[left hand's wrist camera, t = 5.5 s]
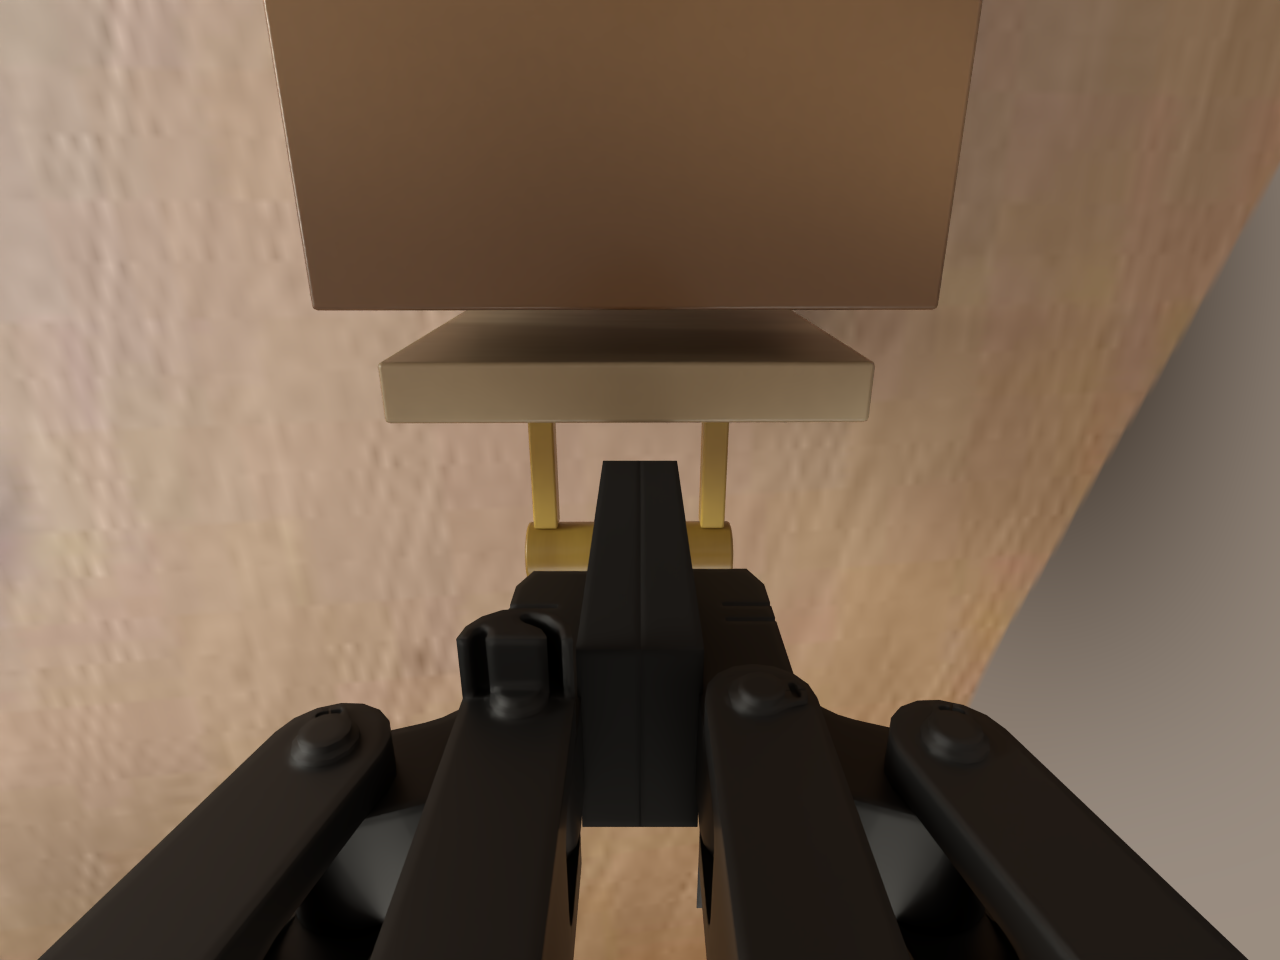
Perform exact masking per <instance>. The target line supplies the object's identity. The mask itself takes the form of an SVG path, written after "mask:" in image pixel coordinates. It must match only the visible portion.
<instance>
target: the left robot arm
mask: <svg viewBox="0 0 1280 960" xmlns="http://www.w3.org/2000/svg"><path fill="white" fill-rule="evenodd" d="M456 640H457V649H458V658H459V668H460V677H461V686H462V695H463V700H462V702H461V705H460V708H459V710H457V711H455V712H453V713H451V714H449V715H447V716H445V717H443V718H439V719H436V720H433V721H429V722H426V723H422V724H418V725H413V726H409V727H404V728H400V729H395V730H391V728H390V722H389V720H388V719H387V718H386V716H385V715H384V714H383V713H382V712H381V711H380V710H379V709H376V708H373V707H371V706H368V705H365V704H355V703H339V704H335V705H330V706H325V707H320V708H317V709H314V710H312V711H310V712H307V713H305V714H303V715H301V716H298V717H296V718H294V719H293V720H291V721H290V722H288V723H287V724H286V725H284V726H283V727H282V728H280V729H279V730H278V731H276V732H275V733H274V734H273V735H272V736H271V737H270V738H269V739H268V740H266V741H265V742H264V743H263V744H262V745H261V746H260V747H259V748H258V749H257V750H256V751H255V752H254V753H253V754H252V755H251V756H250V757H249V758H248V759H247V760H246V761H245V762H243V763H242V764H241V765H240V766H239V767H238V768H237V769H236V770H235V771H234V772H233V773H232V774H231V775H230V776H229V777H228V778H227V779H226V780H225V781H224V782H223V783H222V784H221V785H219V786H218V787H217V788H216V789H215V790H214V791H213V792H212V793H211V794H210V795H209V796H208V797H207V798H206V799H205V800H204V801H203V802H202V803H201V804H200V805H199V806H198V807H197V808H195V809H194V810H193V811H192V812H191V813H190V814H189V815H188V816H187V817H186V818H185V819H184V820H183V821H182V822H181V823H180V824H179V825H178V826H177V827H176V828H175V829H174V830H173V831H171V832H170V833H169V834H168V835H167V836H166V837H165V838H164V839H163V840H162V841H161V842H160V843H159V844H158V845H157V846H156V847H155V848H154V849H153V850H152V851H151V852H150V853H148V854H147V855H146V856H145V857H144V858H143V859H142V860H141V861H140V862H139V863H138V864H137V865H136V866H135V867H134V868H133V869H132V870H131V871H130V872H129V873H128V874H127V875H126V876H124V877H123V878H122V879H121V880H120V881H119V882H118V883H117V884H116V885H115V886H114V887H113V888H112V889H111V890H110V891H109V892H108V893H107V894H106V895H105V896H104V897H103V898H102V899H100V900H99V901H98V902H97V903H96V904H95V905H94V906H93V907H92V908H91V909H90V910H89V911H88V912H87V913H86V914H85V915H84V916H83V917H82V918H81V919H80V920H79V921H78V922H76V923H75V924H74V925H73V926H72V927H71V928H70V929H69V930H68V931H67V932H66V933H65V934H64V935H63V936H62V937H61V938H60V939H59V940H58V941H57V942H56V943H55V944H53V945H52V946H51V947H50V948H49V949H48V950H47V951H46V952H45V953H44V954H43V955H42V956H41V957H40V958H39V959H38V960H573V957H574V945H575V934H576V922H577V911H578V899H579V887H580V876H581V864H582V863H581V838H580V831H581V820H582V826H583V827H697V826H698V817H699V827H700V838H699V863H698V888H697V908H702V910H703V921H704V933H705V944H706V956H707V960H1248V959H1247V958H1246V957H1245V956H1244V955H1243V954H1242V953H1241V952H1240V951H1239V950H1238V949H1236V948H1235V947H1234V946H1233V945H1232V944H1231V943H1230V942H1229V941H1228V940H1227V939H1226V938H1225V937H1224V936H1223V935H1222V934H1221V933H1220V932H1219V931H1218V930H1217V929H1215V928H1214V927H1213V926H1212V925H1211V924H1210V923H1209V922H1208V921H1207V920H1206V919H1205V918H1204V917H1203V916H1202V915H1201V914H1200V913H1199V912H1198V911H1196V910H1195V909H1194V908H1193V907H1192V906H1191V905H1190V904H1189V903H1188V902H1187V901H1186V900H1185V899H1184V898H1183V897H1182V896H1181V895H1180V894H1179V893H1178V892H1177V891H1175V890H1174V889H1173V888H1172V887H1171V886H1170V885H1169V884H1168V883H1167V882H1166V881H1165V880H1164V879H1163V878H1162V877H1161V876H1160V875H1159V874H1158V873H1157V872H1155V871H1154V870H1153V869H1152V868H1151V867H1150V866H1149V865H1148V864H1147V863H1146V862H1145V861H1144V860H1143V859H1142V858H1141V857H1140V856H1139V855H1138V854H1137V853H1136V852H1134V851H1133V850H1132V849H1131V848H1130V847H1129V846H1128V845H1127V844H1126V843H1125V842H1124V841H1123V840H1122V839H1121V838H1120V837H1119V836H1118V835H1117V834H1115V833H1114V832H1113V831H1112V830H1111V829H1110V828H1109V827H1108V826H1107V825H1106V824H1105V823H1104V822H1103V821H1102V820H1101V819H1100V818H1099V817H1098V816H1097V815H1095V814H1094V813H1093V812H1092V811H1091V810H1090V809H1089V808H1088V807H1087V806H1086V805H1085V804H1084V803H1083V802H1082V801H1081V800H1080V799H1079V798H1078V797H1077V796H1076V795H1075V794H1073V793H1072V792H1071V791H1070V790H1069V789H1068V788H1067V787H1066V786H1065V785H1064V784H1063V783H1062V782H1061V781H1060V780H1059V779H1058V778H1057V777H1056V776H1055V775H1053V774H1052V773H1051V772H1050V771H1049V770H1048V769H1047V768H1046V767H1045V766H1044V765H1043V764H1042V763H1041V762H1040V761H1039V760H1038V759H1037V758H1036V757H1034V756H1033V755H1032V754H1031V753H1030V752H1029V751H1028V750H1027V749H1026V748H1025V747H1024V746H1023V745H1022V744H1021V743H1020V742H1019V741H1018V740H1017V739H1016V738H1015V737H1013V736H1012V735H1011V734H1010V733H1009V732H1008V731H1007V730H1006V729H1005V728H1003V727H1002V726H1001V725H999V724H998V723H997V722H995V721H994V720H992V719H991V718H990V717H988V716H987V715H985V714H983V713H980V712H978V711H976V710H973V709H971V708H969V707H967V706H964V705H961V704H956V703H951V702H946V701H942V700H922V701H915V702H912V703H910V704H907V705H904V706H901V707H900V708H899V709H898V710H897V712H896V713H895V714H894V715H893V716H892V717H891V722H890V728H889V727H885V726H880V725H876V724H871V723H867V722H862V721H858V720H854V719H851V718H847V717H844V716H841V715H837V714H835V713H833V712H831V711H829V710H827V709H825V708H823V707H821V706H820V704H819V701H818V699H817V697H816V695H815V694H814V692H813V691H812V689H811V688H810V686H809V685H808V684H807V683H806V682H804V681H803V680H802V679H800V678H799V677H797V676H796V675H795V674H793V671H792V668H791V665H790V662H789V659H788V656H787V653H786V650H785V647H784V644H783V641H782V638H781V635H780V632H779V628H778V625H777V622H776V621H775V616H774V613H773V610H772V607H771V606H770V601H769V598H768V595H767V592H766V589H765V586H764V584H763V583H762V582H761V581H760V580H759V579H757V578H756V577H755V576H754V575H753V574H752V573H751V572H749V571H748V570H747V569H693V568H692V561H691V555H690V548H689V541H688V534H687V527H686V520H685V513H684V506H683V499H682V493H681V486H680V479H679V472H678V465H677V461H603V465H602V472H601V479H600V486H599V493H598V499H597V506H596V513H595V520H594V527H593V534H592V541H591V548H590V555H589V561H588V568H587V571H533V572H532V573H531V574H530V575H529V576H528V577H526V578H525V579H524V580H523V581H522V582H521V583H520V584H519V585H517V586H516V589H515V592H514V595H513V598H512V601H511V604H510V608H509V610H501V611H498V612H495V613H492V614H489V615H485V616H482V617H480V618H479V619H477V620H476V621H474V622H472V623H471V624H469V625H468V626H466V627H465V628H464V630H463V631H462V632H461V633H460V635H459V636H458V637H457V639H456Z"/></svg>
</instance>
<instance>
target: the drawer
mask: <svg viewBox="0 0 1280 960" xmlns="http://www.w3.org/2000/svg"><path fill="white" fill-rule="evenodd" d="M874 368H875V366H874V362H872V361H870V360H869V359H867V358H866V357H864V356H863V355H861V354H859V353H858V352H856V351H855V350H853V349H852V348H850V347H848V346H847V345H845V344H844V343H842V342H841V341H839V340H837V339H836V338H834V337H833V336H831V335H830V334H828V333H826V332H825V331H823V330H822V329H820V328H819V327H817V326H815V325H814V324H812V323H811V322H809V321H808V320H806V319H804V318H803V317H801V316H800V315H798V314H796V313H795V312H793V311H792V310H466V311H464V312H463V313H461V314H460V315H458V316H456V317H455V318H453V319H451V320H450V321H448V322H446V323H445V324H443V325H442V326H440V327H438V328H437V329H435V330H433V331H432V332H430V333H428V334H427V335H425V336H423V337H422V338H420V339H419V340H417V341H415V342H414V343H412V344H410V345H409V346H407V347H405V348H404V349H402V350H401V351H399V352H397V353H396V354H394V355H392V356H391V357H389V358H387V359H386V360H384V361H383V362H381V363H379V366H378V370H379V377H380V385H381V392H382V400H383V407H384V415H385V420H386V422H388V423H528V432H529V449H530V466H531V484H532V501H533V518H534V522H531V523H529V525H528V528H527V533H526V542H525V565H526V573H527V577H528V576H529V575H530V574H531V573H532V572H533V571H587V568H588V561H589V555H590V548H591V541H592V534H593V527H594V522H559V519H560V515H559V492H558V470H557V447H556V424H555V423H636V422H702V435H701V466H700V496H699V521H686V527H687V534H688V541H689V548H690V555H691V561H692V568H693V569H732V568H733V538H732V530H731V526H730V523H729V522H727V521H724V518H725V497H726V475H727V454H728V432H729V422H864V421H867V420H868V417H869V409H870V401H871V393H872V384H873V376H874Z"/></svg>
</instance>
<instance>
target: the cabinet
mask: <svg viewBox="0 0 1280 960" xmlns="http://www.w3.org/2000/svg"><path fill="white" fill-rule="evenodd" d="M263 3H264V10H265V16H266V22H267V28H268V34H269V40H270V47H271V53H272V59H273V65H274V71H275V78H276V84H277V90H278V96H279V102H280V109H281V115H282V121H283V127H284V133H285V139H286V146H287V152H288V158H289V164H290V170H291V177H292V183H293V189H294V195H295V201H296V208H297V214H298V220H299V226H300V232H301V238H302V245H303V251H304V257H305V263H306V269H307V276H308V282H309V288H310V294H311V300H312V306H313V308H314V309H316V310H932V309H935V308H937V306H938V300H939V293H940V286H941V279H942V272H943V266H944V259H945V252H946V245H947V238H948V231H949V225H950V218H951V211H952V204H953V197H954V191H955V184H956V177H957V170H958V163H959V157H960V150H961V143H962V136H963V129H964V123H965V116H966V109H967V102H968V95H969V89H970V82H971V75H972V68H973V61H974V55H975V48H976V41H977V34H978V27H979V20H980V14H981V7H982V0H263Z"/></svg>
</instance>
